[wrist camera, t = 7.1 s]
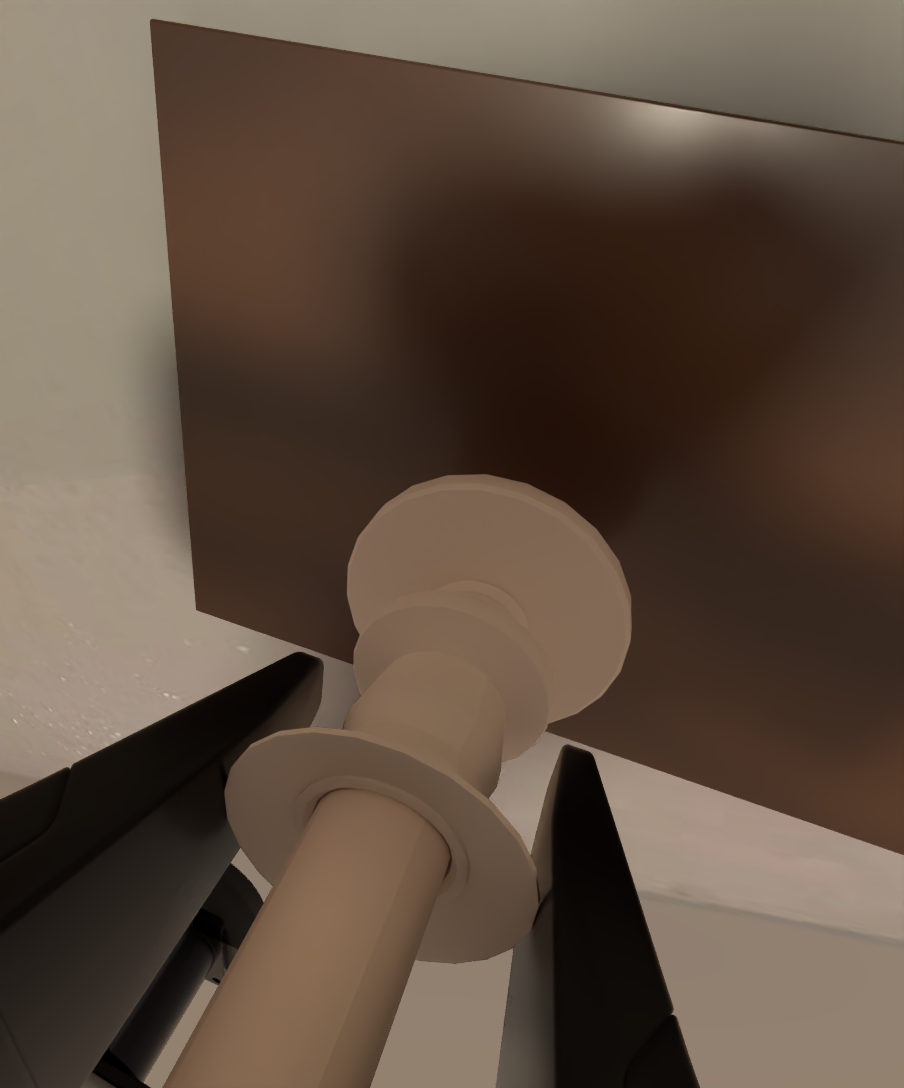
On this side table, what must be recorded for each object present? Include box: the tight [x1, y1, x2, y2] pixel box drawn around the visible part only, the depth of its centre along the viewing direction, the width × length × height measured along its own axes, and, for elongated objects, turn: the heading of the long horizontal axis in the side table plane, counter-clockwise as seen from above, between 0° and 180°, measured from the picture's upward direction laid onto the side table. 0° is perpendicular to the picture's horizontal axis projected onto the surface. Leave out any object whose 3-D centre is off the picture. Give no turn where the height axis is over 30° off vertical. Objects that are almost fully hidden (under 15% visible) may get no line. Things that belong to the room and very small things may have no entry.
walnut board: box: [150, 19, 904, 855], centre depth 14 cm, size 14×20×1 cm
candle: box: [163, 474, 632, 1088], centre depth 8 cm, size 5×5×10 cm
